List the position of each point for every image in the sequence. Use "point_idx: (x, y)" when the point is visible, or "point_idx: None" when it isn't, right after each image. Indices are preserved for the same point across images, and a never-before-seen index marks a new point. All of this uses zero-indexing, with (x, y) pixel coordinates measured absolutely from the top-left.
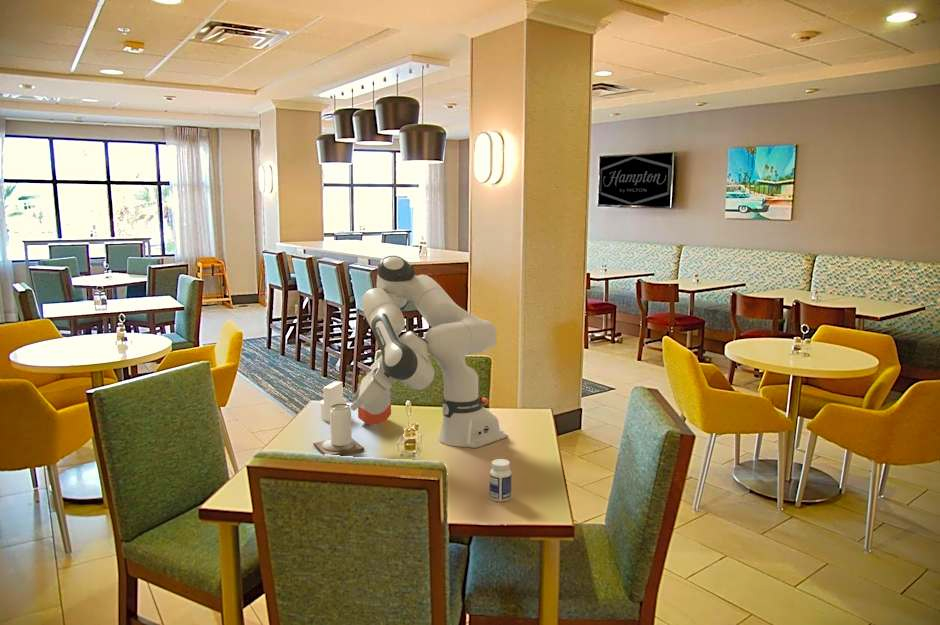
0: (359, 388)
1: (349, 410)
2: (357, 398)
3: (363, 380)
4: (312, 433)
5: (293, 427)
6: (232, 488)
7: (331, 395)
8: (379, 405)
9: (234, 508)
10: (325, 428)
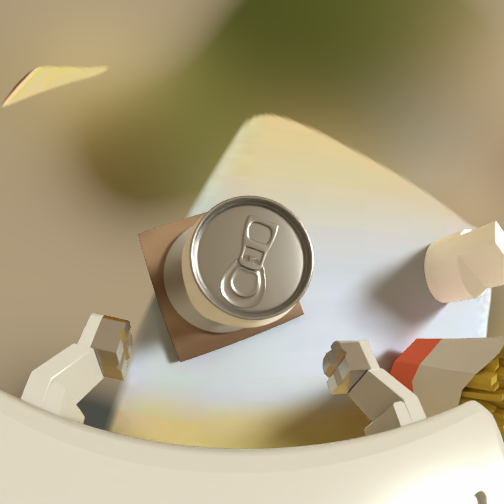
0: (399, 404)
1: (221, 317)
2: (330, 379)
3: (452, 445)
4: (355, 209)
5: (389, 172)
6: (74, 73)
7: (479, 250)
8: (434, 406)
9: (13, 95)
10: (386, 246)
